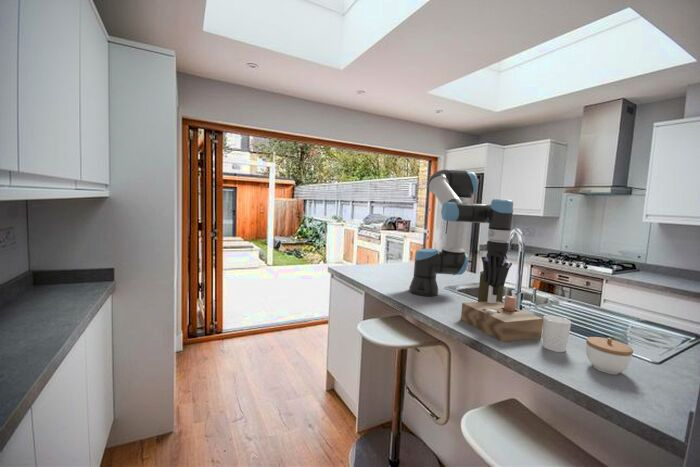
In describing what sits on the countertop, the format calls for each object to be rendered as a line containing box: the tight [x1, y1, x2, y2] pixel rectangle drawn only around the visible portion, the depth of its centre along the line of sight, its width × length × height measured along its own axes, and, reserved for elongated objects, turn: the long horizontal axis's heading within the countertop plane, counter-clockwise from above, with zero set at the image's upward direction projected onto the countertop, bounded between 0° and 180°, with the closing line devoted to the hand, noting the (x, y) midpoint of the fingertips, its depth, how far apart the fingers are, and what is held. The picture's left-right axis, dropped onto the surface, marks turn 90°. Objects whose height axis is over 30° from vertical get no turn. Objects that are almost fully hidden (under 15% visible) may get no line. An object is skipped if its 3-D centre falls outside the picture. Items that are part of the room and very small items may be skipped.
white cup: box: [541, 314, 572, 353], centre depth 109 cm, size 8×8×10 cm
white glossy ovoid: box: [486, 309, 497, 314], centre depth 123 cm, size 4×4×6 cm
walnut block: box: [460, 301, 543, 343], centre depth 125 cm, size 22×18×7 cm
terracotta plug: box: [504, 295, 517, 312], centre depth 126 cm, size 4×4×6 cm
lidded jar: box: [585, 336, 634, 375], centre depth 95 cm, size 11×11×9 cm
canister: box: [477, 270, 505, 303], centre depth 145 cm, size 11×10×20 cm
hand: (491, 302), depth 123 cm, fingers closed
